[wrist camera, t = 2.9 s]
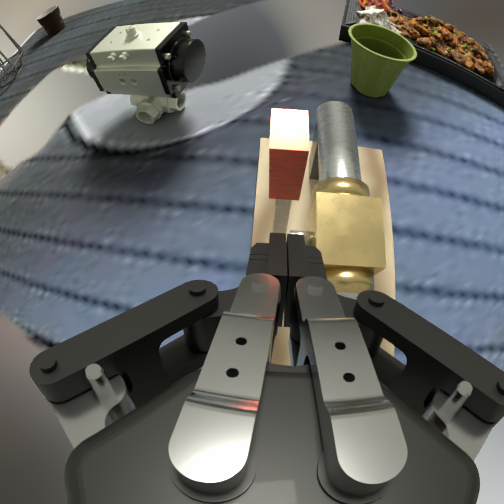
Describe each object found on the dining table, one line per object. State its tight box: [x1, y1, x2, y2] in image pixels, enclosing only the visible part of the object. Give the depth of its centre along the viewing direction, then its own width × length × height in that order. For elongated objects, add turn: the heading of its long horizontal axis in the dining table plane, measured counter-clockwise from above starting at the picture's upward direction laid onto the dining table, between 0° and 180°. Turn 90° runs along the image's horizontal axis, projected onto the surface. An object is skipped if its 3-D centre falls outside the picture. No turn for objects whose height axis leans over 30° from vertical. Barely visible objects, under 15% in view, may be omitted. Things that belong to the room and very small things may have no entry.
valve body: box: [289, 101, 386, 299], centre depth 31 cm, size 8×26×12 cm, turn 175°
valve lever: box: [269, 108, 309, 233], centre depth 21 cm, size 2×3×16 cm, turn 176°
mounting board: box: [252, 138, 395, 366], centre depth 37 cm, size 18×30×2 cm, turn 175°
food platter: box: [339, 0, 504, 108], centre depth 48 cm, size 45×25×10 cm, turn 73°
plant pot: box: [348, 23, 417, 98], centre depth 41 cm, size 12×12×11 cm
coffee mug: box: [37, 5, 65, 36], centre depth 61 cm, size 12×9×10 cm
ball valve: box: [86, 22, 206, 124], centre depth 38 cm, size 18×8×18 cm, turn 72°
